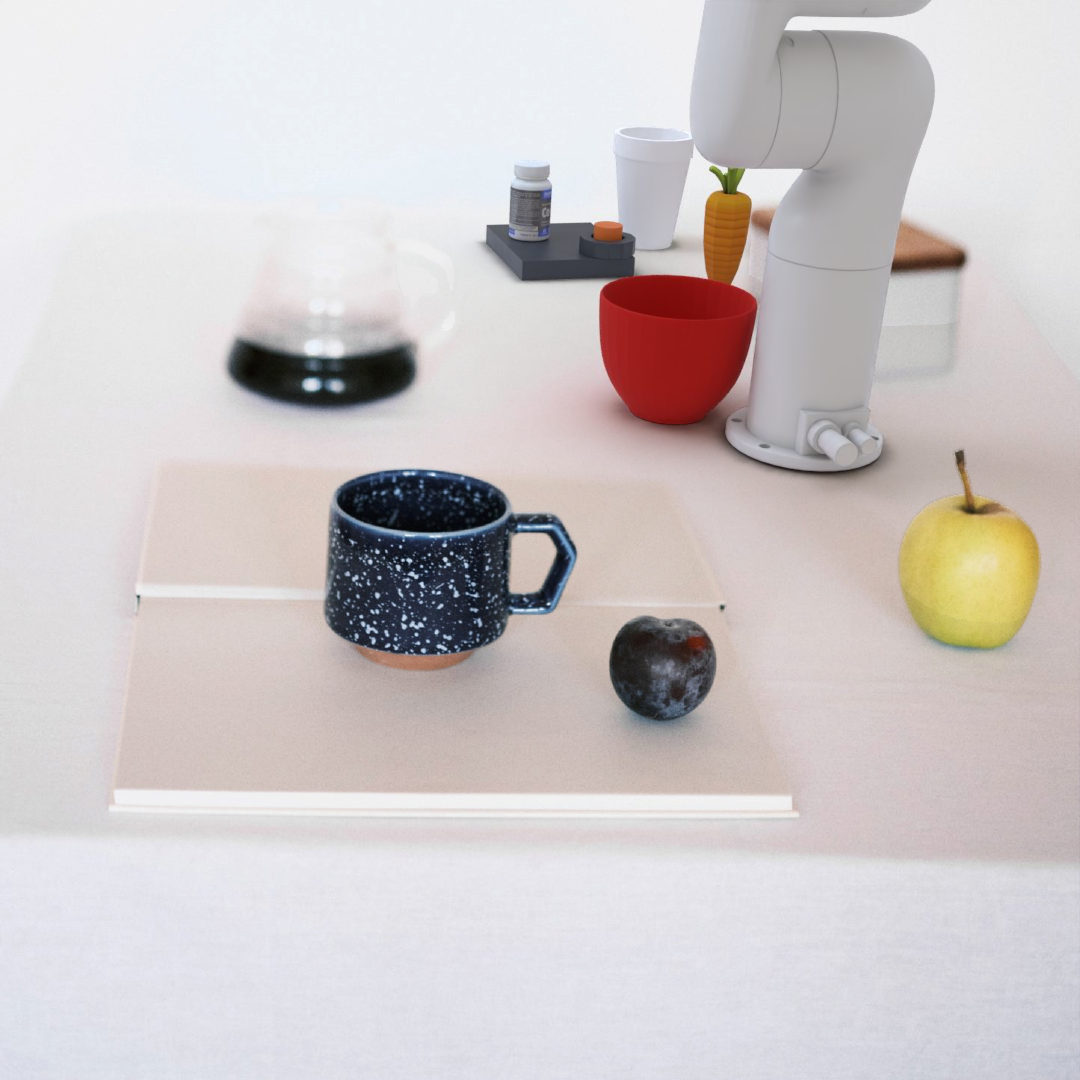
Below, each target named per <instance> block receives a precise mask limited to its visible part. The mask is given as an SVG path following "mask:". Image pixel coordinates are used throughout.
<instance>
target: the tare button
mask: <svg viewBox="0 0 1080 1080" xmlns="http://www.w3.org/2000/svg"><path fill="white" fill-rule="evenodd" d="M593 225H594V236H593V238H595V239H598V240H604V241H619V240H622V233H623V225H622V224H620V223H619V222H617V221H610V220H601V221H597V222H594V224H593Z"/></svg>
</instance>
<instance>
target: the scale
mask: <svg viewBox="0 0 1080 1080" xmlns="http://www.w3.org/2000/svg"><path fill="white" fill-rule="evenodd" d="M485 228H486V229H485V231H486V233H485V243H486V245H487V246H488V247H489V248H490V249H491V250H492V252H494V253H495V254H496V255H497V257H499V258H500V259H501V261H503V263H504V264H505V265H506V266H507V267H508V268H509V269H510V270H511V272H513V273H514V275H516V277H518V278H519V280H521V281H522V282H523V281H524V282H525V281H551V280H554V281H555V280H580V279H608V278H609V279H610V278H626V277H633V276H635V275H634V274H635V263H636V257H635V256H634V255H635V253H636V248H635V243H636V238H635V237H634V236H633V235H631V234H629V233H625V232H623V233H622V240H619V241H604V240H598V239H595V238H593V236H594V224H593V223H592V222H589V221H588V222H550V233H549V237H548V238H547V239H546V240H543V241H521V240H516V239H513V238H511V237H510V235H509V223H507V224H506V223H505V224H502V223H501V224H486V227H485Z"/></svg>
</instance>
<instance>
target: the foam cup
mask: <svg viewBox="0 0 1080 1080" xmlns="http://www.w3.org/2000/svg"><path fill="white" fill-rule="evenodd" d="M613 137H614V138H613V150H612V151H613V154H614V156H615V159H614V160H615V175H616V197H617V198H616V199H617V215H618V223H620V224H622V225H623V232H625V233H629V234H631V235H633V236H634V237H635V238H636V243H635V250H636V249H638V250H646V251H647V250H648V251H649V250H650V251H651V250H653V251H655V250H656V251H658V250H662V249H664V250H665V249H668V248H669V247H671V246H672V242H673V240H674V236H675V231H676V226H677V223H678V218H679V217H678V216H679V213H680V208H681V204H682V199H683V194H684V190H685V186H686V181H687V176H688V173H689V167H690V164H691V160H692V159H693V157H694V147H695V144H694V141H693V138H692V134H691V132H689V131H686V130H682V129H677V128H672V127H663V126H653V125H651V126H650V125H633V126H621V127H619V128H616V129H614V136H613Z"/></svg>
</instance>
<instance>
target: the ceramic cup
mask: <svg viewBox="0 0 1080 1080" xmlns="http://www.w3.org/2000/svg"><path fill="white" fill-rule="evenodd" d="M598 302H599V303H598V304H599V305H598V321H599V322H598V330H599V333H598V334H599V344H600V353H601V358H602V362H603V366H604V369H605V371H606V375H607V377H608V379H609V381H610V383H611V385H612V386H613V388H614V390H615V392H616V393H617V395H618V396H619V397H620V398H621V400H622V401H623V402H624V404H625V405H626V406H627V407H628V409H629V411H630V412H631V413H632V414H633V415H634V416H636V417H637V418H639V419H642V420H644V421H648V422H653V423H657V424H665V425H687V424H692V423H696V422H699V421H701V420H703V419H705V418H706V416H707V415H708V413H710V412H711V411H713V409H714V408H715V407H717V406H718V405H719V404H720V403H722V401H723V400H724V399H725V398H726V397H727V396H728V394H730V392H731V391H732V389H733V388H734V387H735V385H736V383H737V382H738V380H739V378H740V376H741V374H742V371H743V369H744V366H745V364H746V361H747V357H748V354H749V351H750V348H751V344H752V340H753V335H754V330H755V326H756V325H755V324H756V320H757V315H758V301H757V299H756V298H755V296H754V295H753V294H752V293H750V292H748V291H747V290H745V289H744V288H743V289H742V288H741V287H738V286H735V285H733V284H731V285H730V284H727V283H723V282H719V281H715V280H711V279H708V278H704V277H699V276H692V275H691V276H690V275H678V274H677V275H676V274H643V275H642V274H641V275H634V276H633V277H621V278H618V279H615V280H612V281H610V282H608V283H607V284H605V285H603V287H602V288H601V289H600V292H599V299H598Z"/></svg>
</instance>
